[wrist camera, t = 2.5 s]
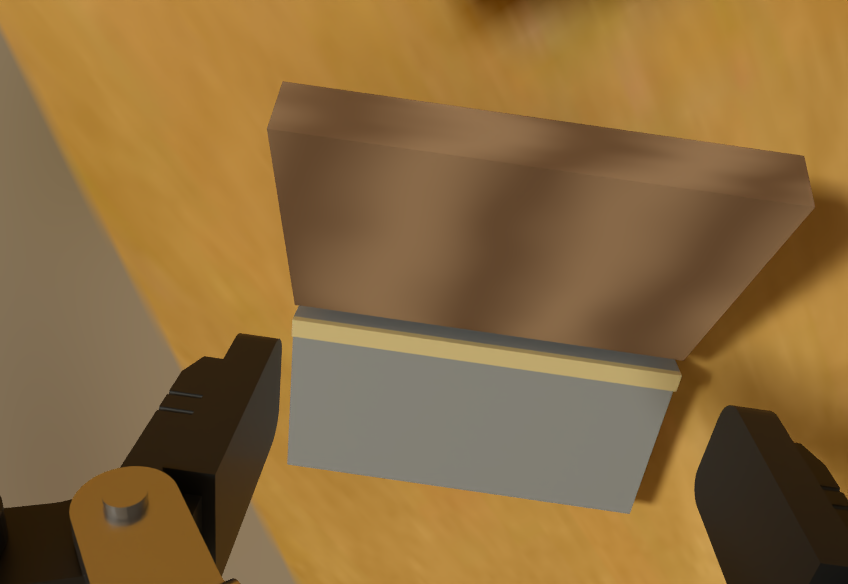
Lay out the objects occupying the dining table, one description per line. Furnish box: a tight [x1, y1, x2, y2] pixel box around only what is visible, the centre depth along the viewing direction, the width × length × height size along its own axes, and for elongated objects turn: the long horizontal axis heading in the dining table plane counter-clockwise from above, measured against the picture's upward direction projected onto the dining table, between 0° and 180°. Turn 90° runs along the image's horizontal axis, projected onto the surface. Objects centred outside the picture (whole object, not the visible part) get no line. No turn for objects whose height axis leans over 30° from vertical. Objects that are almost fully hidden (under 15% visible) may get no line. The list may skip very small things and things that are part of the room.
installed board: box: [287, 305, 682, 514], centre depth 32 cm, size 16×8×2 cm, turn 83°
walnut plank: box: [267, 82, 815, 361], centre depth 25 cm, size 16×10×2 cm
